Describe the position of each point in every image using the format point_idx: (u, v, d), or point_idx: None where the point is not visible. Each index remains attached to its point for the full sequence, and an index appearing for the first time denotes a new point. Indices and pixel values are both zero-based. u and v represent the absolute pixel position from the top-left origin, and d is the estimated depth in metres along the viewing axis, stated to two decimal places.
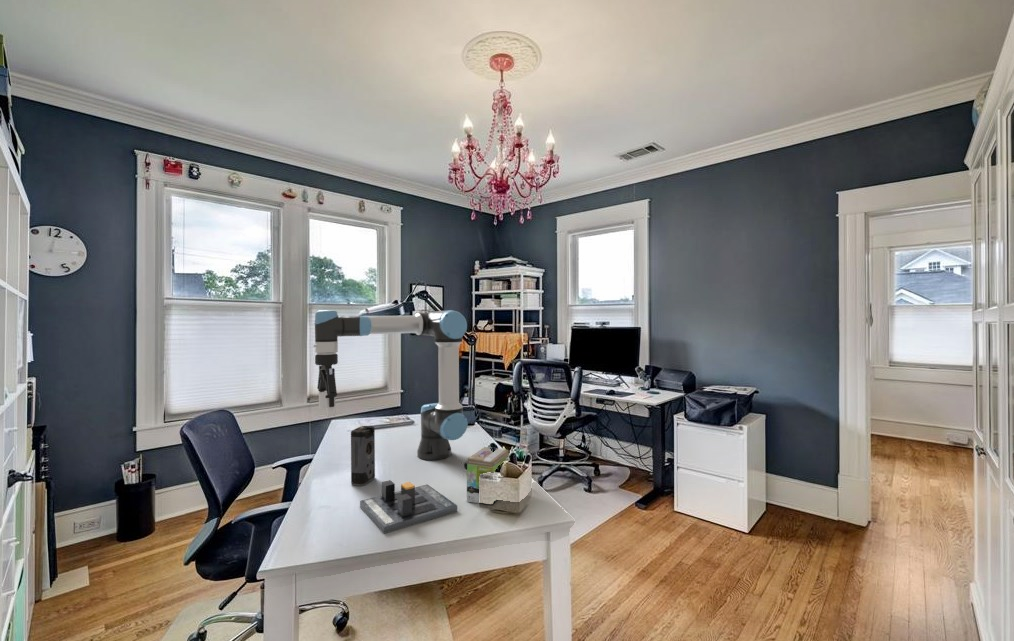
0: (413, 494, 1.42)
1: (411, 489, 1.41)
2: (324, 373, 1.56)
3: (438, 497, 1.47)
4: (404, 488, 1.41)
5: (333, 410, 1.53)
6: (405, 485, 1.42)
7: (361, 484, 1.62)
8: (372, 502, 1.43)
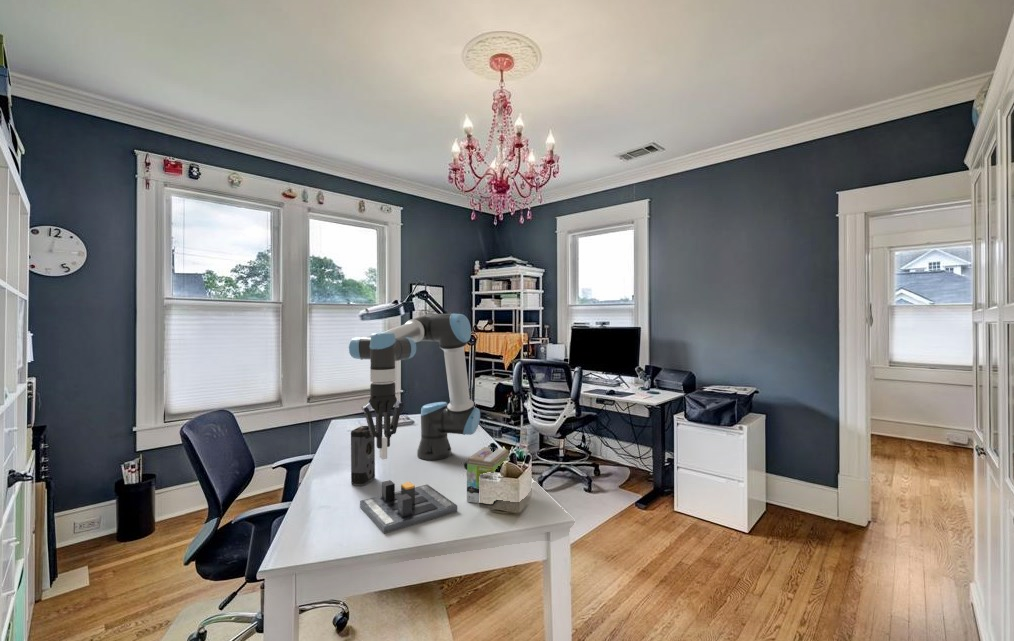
0: (413, 494, 1.42)
1: (411, 489, 1.41)
2: None
3: (438, 497, 1.47)
4: (404, 488, 1.41)
5: (381, 452, 1.37)
6: (405, 485, 1.42)
7: (361, 484, 1.62)
8: (372, 502, 1.43)
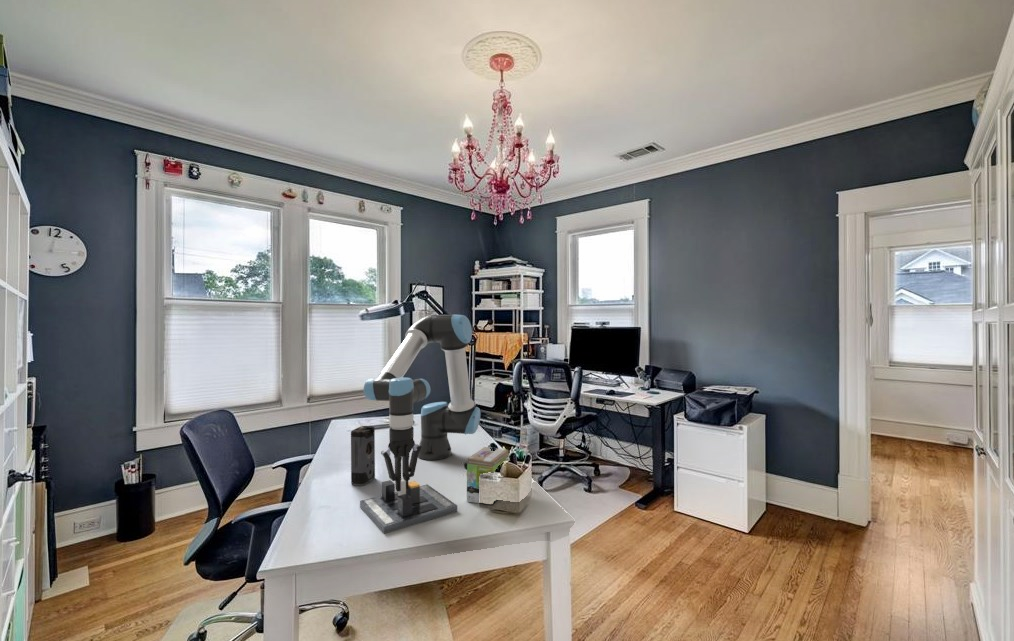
0: (418, 493, 1.43)
1: (416, 487, 1.42)
2: None
3: (438, 497, 1.47)
4: (409, 487, 1.42)
5: None
6: (410, 484, 1.43)
7: (361, 484, 1.62)
8: (372, 502, 1.43)
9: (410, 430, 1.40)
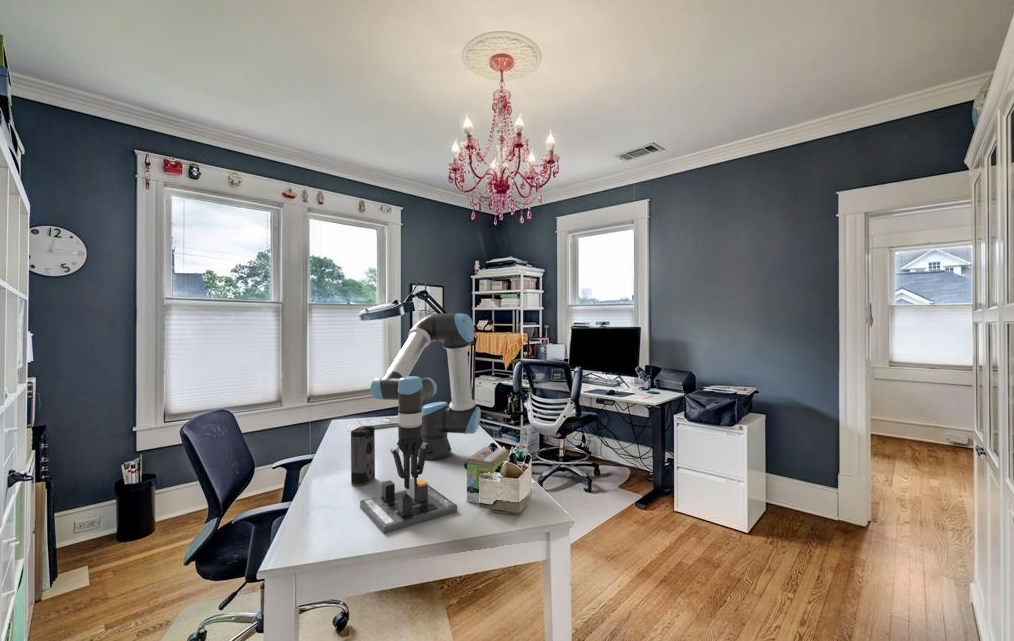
0: (426, 491, 1.44)
1: (424, 485, 1.44)
2: None
3: (438, 497, 1.47)
4: (417, 485, 1.44)
5: (409, 492, 1.42)
6: (418, 482, 1.45)
7: (361, 484, 1.62)
8: (372, 502, 1.43)
9: (419, 428, 1.41)
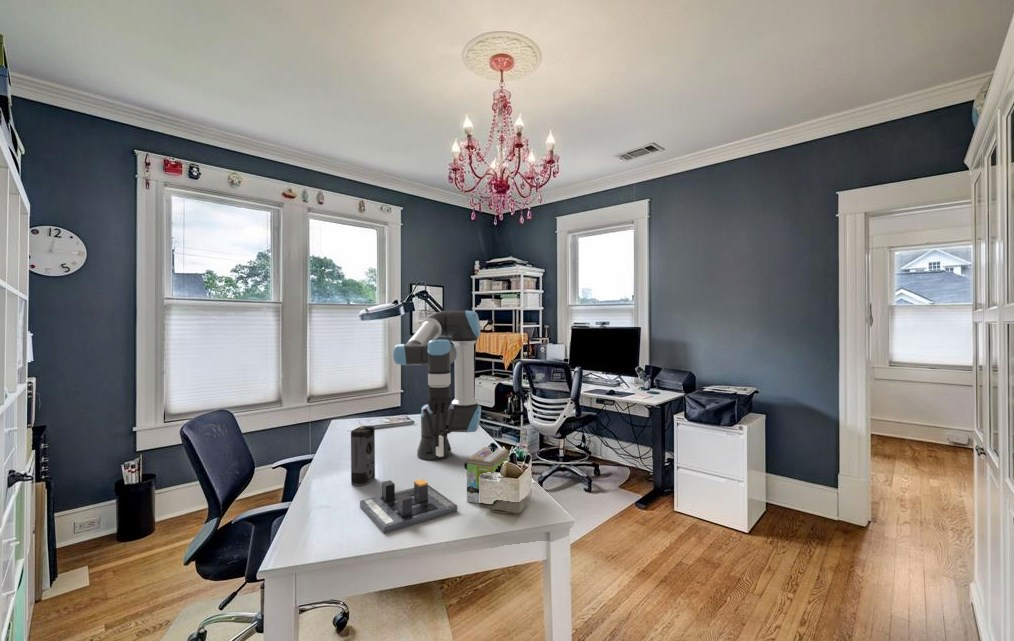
0: (426, 491, 1.44)
1: (424, 485, 1.44)
2: None
3: (438, 497, 1.47)
4: (417, 485, 1.44)
5: (438, 450, 1.48)
6: (418, 482, 1.45)
7: (361, 484, 1.62)
8: (372, 502, 1.43)
9: (448, 388, 1.47)
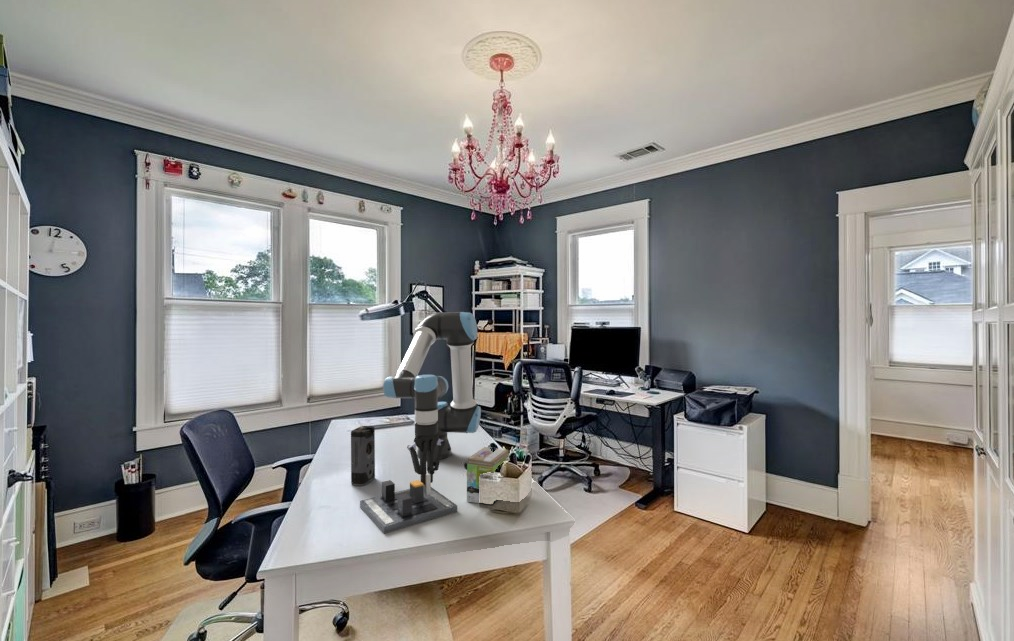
0: (422, 492, 1.43)
1: (420, 487, 1.43)
2: None
3: (438, 497, 1.47)
4: (413, 486, 1.43)
5: (425, 488, 1.45)
6: (414, 483, 1.44)
7: (361, 484, 1.62)
8: (372, 502, 1.43)
9: (435, 425, 1.45)
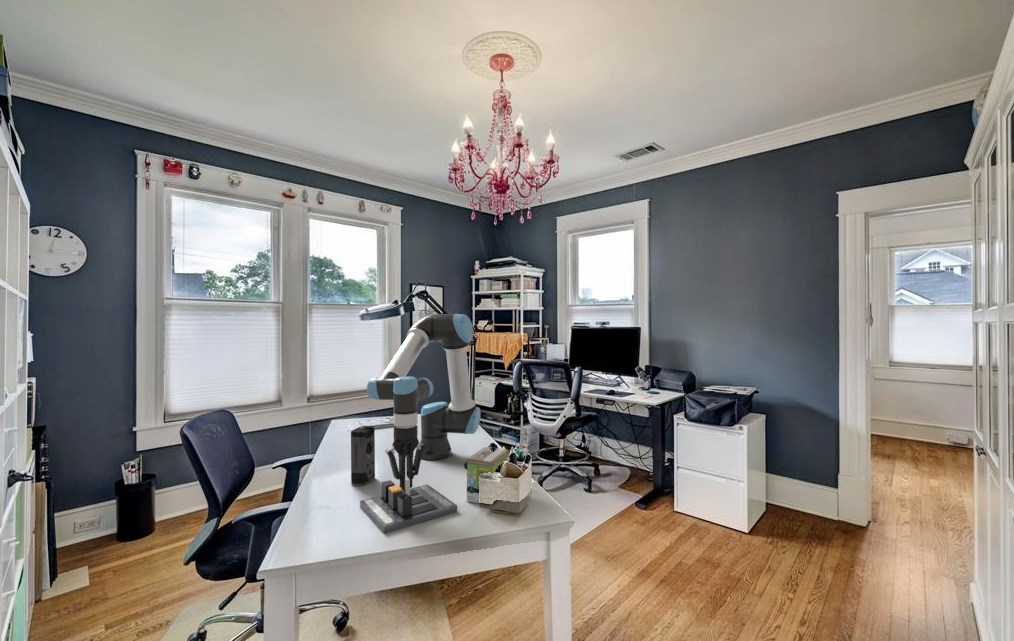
0: None
1: (399, 492, 1.39)
2: None
3: (438, 497, 1.47)
4: (391, 491, 1.39)
5: (404, 493, 1.41)
6: (392, 488, 1.40)
7: (361, 484, 1.62)
8: (372, 502, 1.43)
9: (414, 429, 1.40)
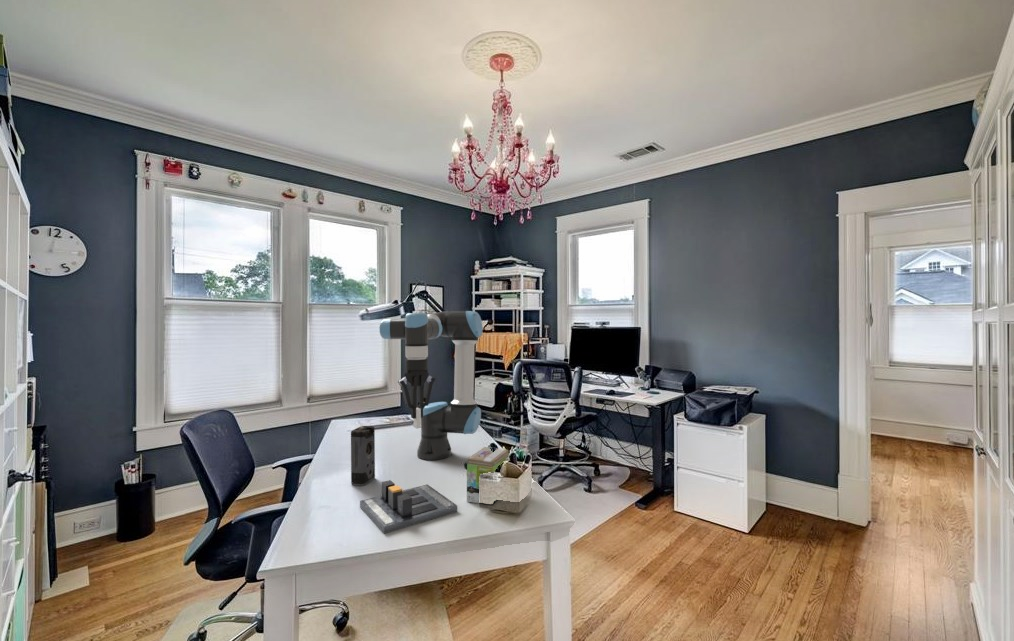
0: None
1: (398, 492, 1.39)
2: None
3: (438, 497, 1.47)
4: (391, 491, 1.39)
5: (416, 422, 1.50)
6: (392, 488, 1.40)
7: (361, 484, 1.62)
8: (372, 502, 1.43)
9: (425, 361, 1.49)
